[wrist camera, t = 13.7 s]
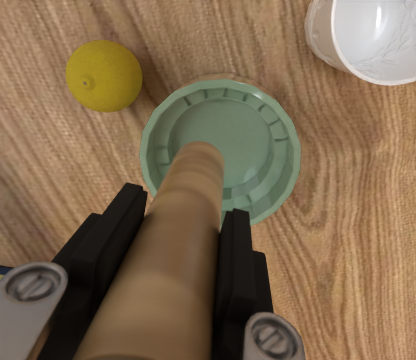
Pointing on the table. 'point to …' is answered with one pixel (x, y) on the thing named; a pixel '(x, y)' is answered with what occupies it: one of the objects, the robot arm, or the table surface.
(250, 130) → the bowl
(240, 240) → the robot arm
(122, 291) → the stick
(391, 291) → the table surface
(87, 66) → the lemon
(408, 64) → the white cup
